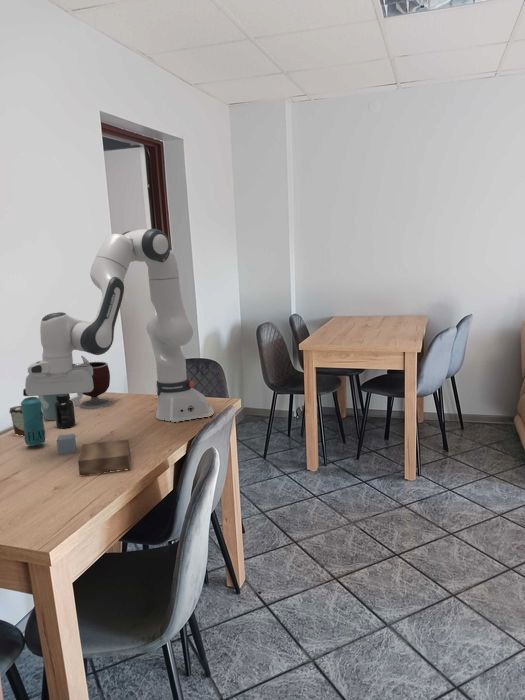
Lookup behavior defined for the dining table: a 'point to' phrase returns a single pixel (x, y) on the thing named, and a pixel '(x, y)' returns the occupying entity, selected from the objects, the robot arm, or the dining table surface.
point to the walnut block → (104, 457)
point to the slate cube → (66, 444)
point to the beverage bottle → (32, 420)
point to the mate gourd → (97, 385)
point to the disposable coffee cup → (49, 412)
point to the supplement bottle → (64, 411)
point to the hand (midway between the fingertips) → (61, 407)
